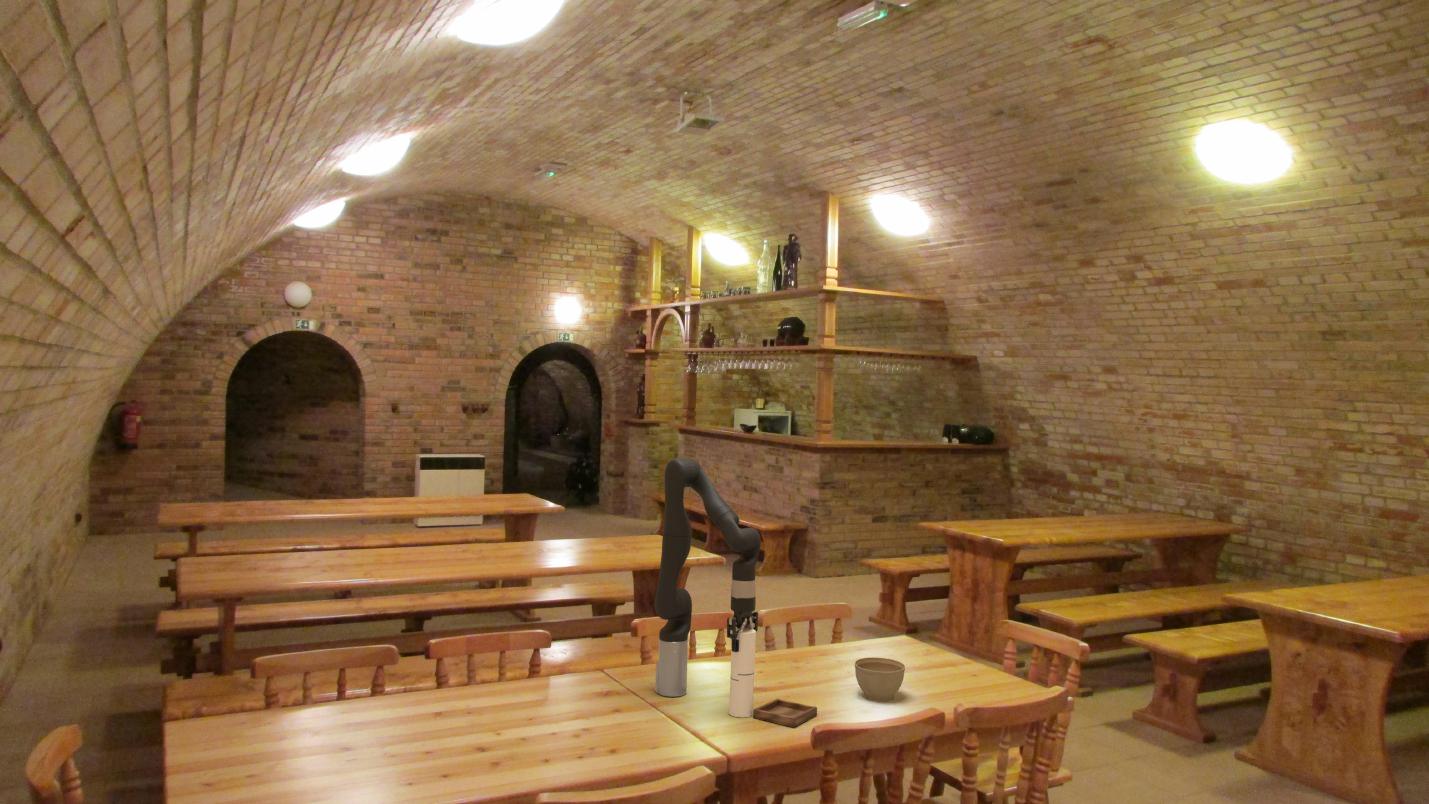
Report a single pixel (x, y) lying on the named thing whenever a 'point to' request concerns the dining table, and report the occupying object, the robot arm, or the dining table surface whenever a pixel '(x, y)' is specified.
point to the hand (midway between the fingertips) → (742, 649)
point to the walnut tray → (785, 712)
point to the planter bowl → (879, 677)
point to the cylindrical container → (742, 675)
